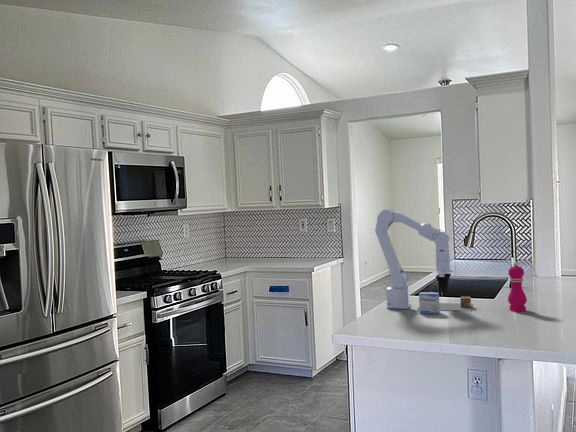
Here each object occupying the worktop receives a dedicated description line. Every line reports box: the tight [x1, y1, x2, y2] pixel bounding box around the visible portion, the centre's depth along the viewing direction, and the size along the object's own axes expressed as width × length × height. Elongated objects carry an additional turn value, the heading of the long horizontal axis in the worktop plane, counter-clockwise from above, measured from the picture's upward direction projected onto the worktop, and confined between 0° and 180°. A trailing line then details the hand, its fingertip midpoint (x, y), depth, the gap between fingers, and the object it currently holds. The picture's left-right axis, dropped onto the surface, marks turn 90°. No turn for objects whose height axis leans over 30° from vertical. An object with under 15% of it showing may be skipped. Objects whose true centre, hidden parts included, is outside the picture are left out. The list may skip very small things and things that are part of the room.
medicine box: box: [418, 291, 441, 315], centre depth 221 cm, size 8×4×9 cm, turn 69°
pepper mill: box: [507, 261, 528, 313], centre depth 219 cm, size 7×7×20 cm
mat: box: [416, 302, 473, 312], centre depth 232 cm, size 22×15×1 cm
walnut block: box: [460, 296, 472, 308], centre depth 230 cm, size 4×4×4 cm
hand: (444, 291), depth 229 cm, fingers open, 4 cm apart
